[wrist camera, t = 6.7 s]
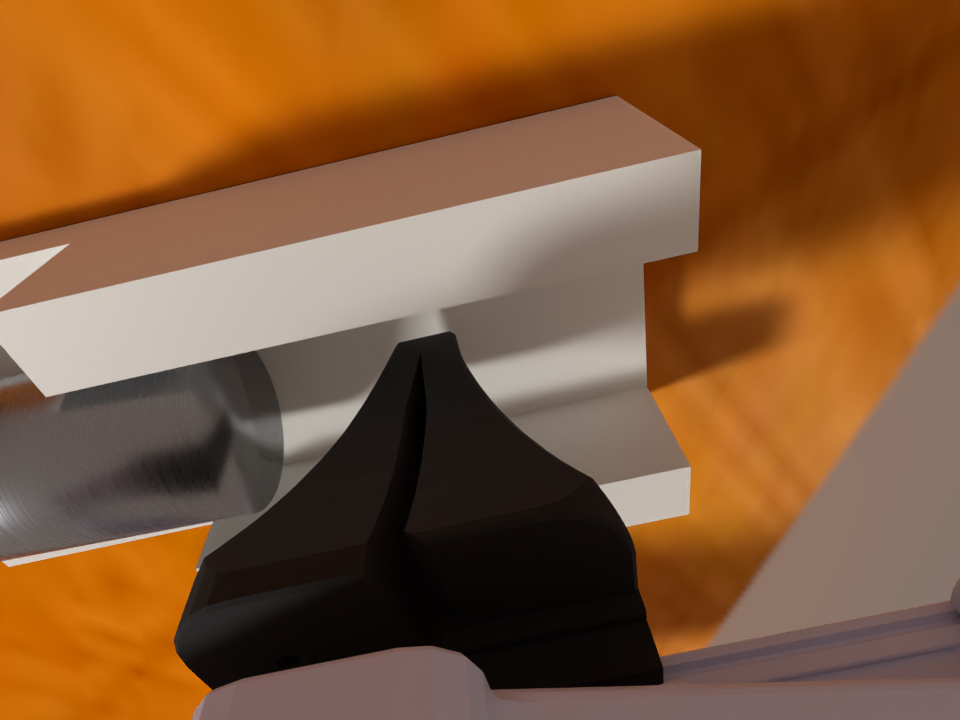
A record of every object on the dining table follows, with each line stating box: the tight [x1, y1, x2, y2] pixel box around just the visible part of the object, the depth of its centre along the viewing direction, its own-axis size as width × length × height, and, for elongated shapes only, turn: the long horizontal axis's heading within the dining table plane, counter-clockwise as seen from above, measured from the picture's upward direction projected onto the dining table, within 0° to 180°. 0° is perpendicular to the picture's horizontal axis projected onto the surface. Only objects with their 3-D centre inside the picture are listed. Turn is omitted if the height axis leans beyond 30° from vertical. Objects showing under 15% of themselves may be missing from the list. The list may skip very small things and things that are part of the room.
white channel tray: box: [0, 96, 701, 571], centre depth 13 cm, size 9×20×4 cm, turn 101°
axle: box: [0, 350, 284, 561], centre depth 12 cm, size 10×4×4 cm, turn 100°
